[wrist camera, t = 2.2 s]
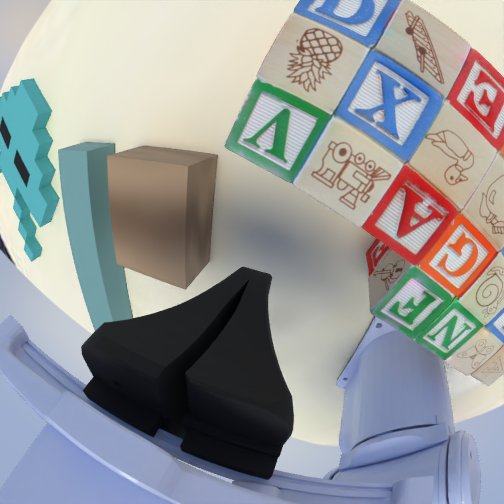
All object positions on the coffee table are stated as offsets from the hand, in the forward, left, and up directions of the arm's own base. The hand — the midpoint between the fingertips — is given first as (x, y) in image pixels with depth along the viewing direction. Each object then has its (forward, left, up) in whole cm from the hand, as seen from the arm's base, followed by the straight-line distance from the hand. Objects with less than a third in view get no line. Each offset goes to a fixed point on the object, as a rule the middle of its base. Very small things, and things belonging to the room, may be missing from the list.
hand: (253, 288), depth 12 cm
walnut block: (0, +8, -7) cm, 10 cm away
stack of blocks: (+11, -11, -3) cm, 16 cm away
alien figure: (+2, +33, -7) cm, 34 cm away
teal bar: (-7, +16, -7) cm, 19 cm away
